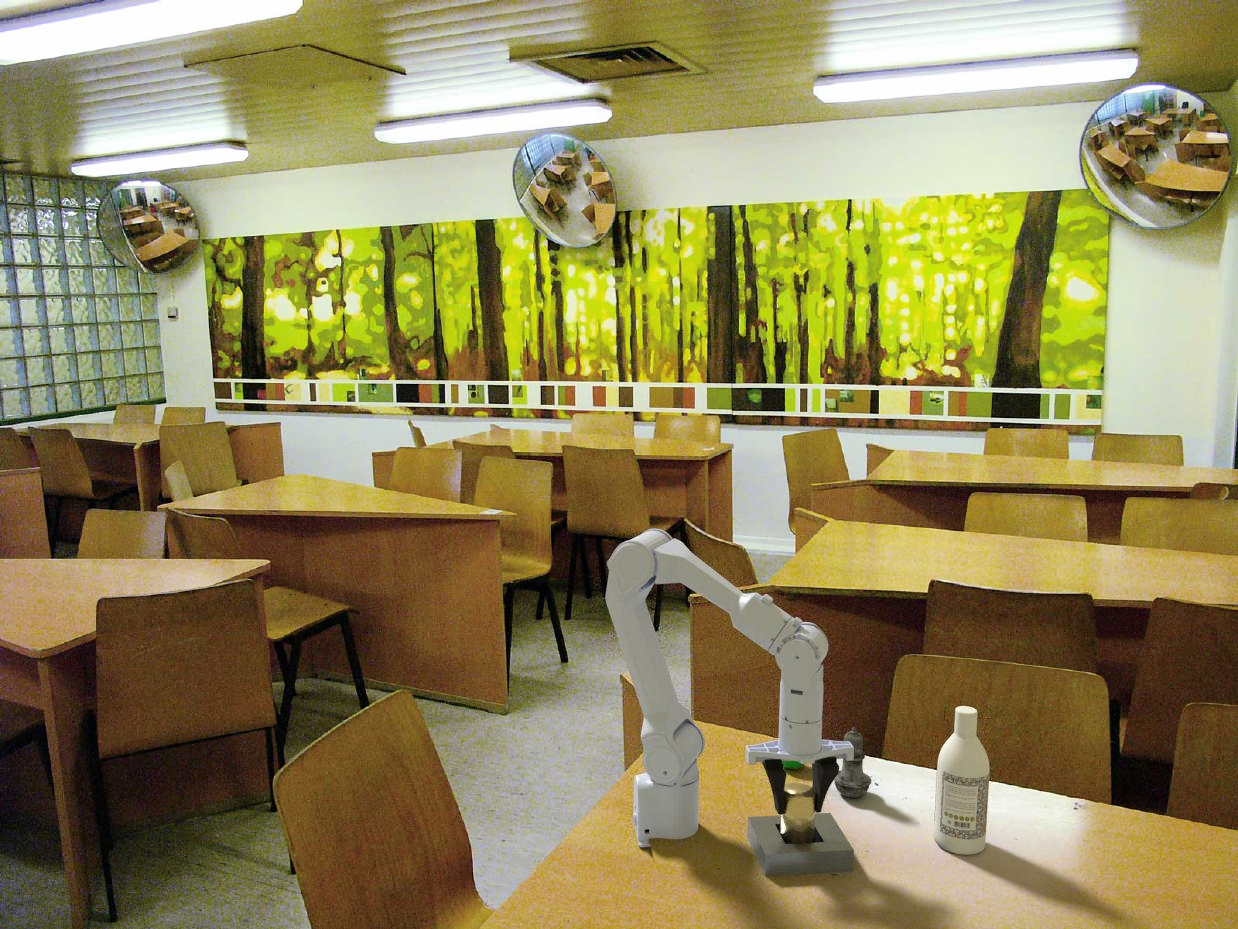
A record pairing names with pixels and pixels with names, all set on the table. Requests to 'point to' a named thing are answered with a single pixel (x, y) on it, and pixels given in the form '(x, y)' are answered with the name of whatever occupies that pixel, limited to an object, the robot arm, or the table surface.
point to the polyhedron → (792, 764)
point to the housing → (800, 847)
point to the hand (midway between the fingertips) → (797, 810)
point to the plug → (798, 814)
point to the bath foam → (962, 788)
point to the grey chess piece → (853, 769)
